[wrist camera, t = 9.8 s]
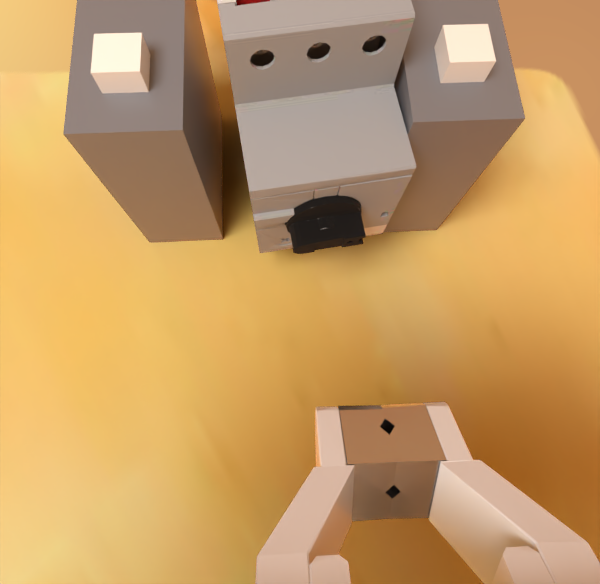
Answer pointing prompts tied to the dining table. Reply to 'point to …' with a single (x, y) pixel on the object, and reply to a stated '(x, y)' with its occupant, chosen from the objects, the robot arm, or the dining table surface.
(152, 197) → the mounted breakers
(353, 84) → the circuit breaker
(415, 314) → the dining table surface
